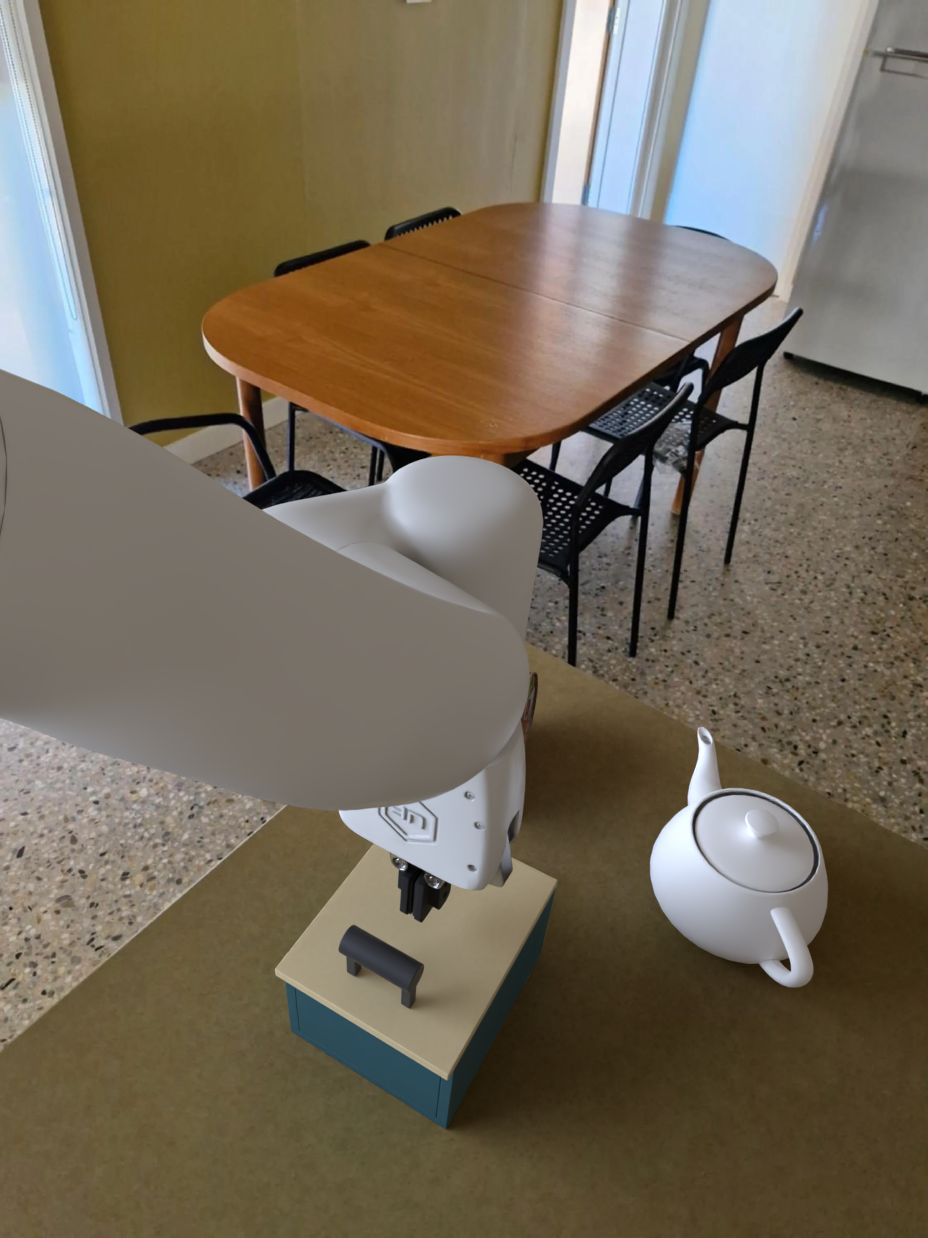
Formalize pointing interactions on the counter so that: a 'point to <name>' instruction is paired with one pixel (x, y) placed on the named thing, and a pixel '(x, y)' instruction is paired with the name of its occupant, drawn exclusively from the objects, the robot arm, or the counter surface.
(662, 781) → the counter surface
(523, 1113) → the counter surface
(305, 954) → the lid
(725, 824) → the teapot
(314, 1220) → the counter surface
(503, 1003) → the teal open box
